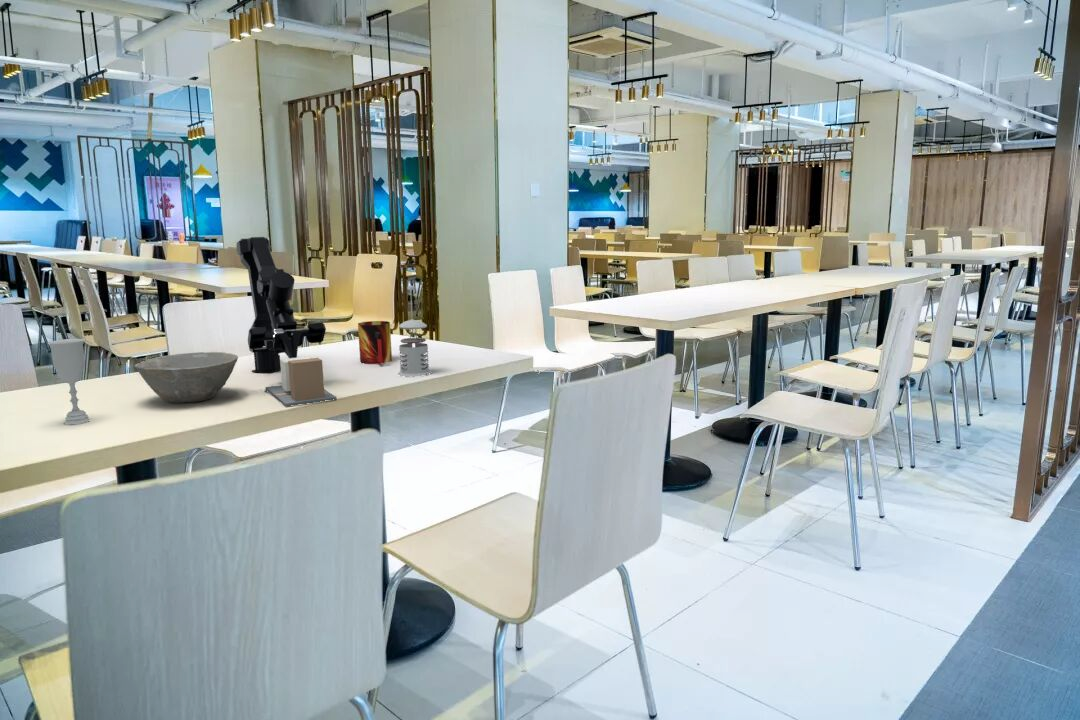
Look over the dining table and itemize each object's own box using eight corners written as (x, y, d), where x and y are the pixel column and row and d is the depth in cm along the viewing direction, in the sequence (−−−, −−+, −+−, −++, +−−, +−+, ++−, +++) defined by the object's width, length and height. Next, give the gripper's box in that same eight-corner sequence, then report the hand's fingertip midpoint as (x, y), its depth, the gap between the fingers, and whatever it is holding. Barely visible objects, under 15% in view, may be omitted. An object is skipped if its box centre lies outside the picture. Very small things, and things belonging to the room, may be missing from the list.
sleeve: (282, 387, 186) (279, 359, 185) (311, 384, 190) (309, 356, 189) (287, 391, 182) (284, 362, 181) (316, 387, 186) (314, 359, 185)
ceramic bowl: (143, 395, 189) (138, 356, 188) (240, 386, 198) (236, 349, 196) (134, 415, 169) (129, 372, 168) (242, 404, 178) (239, 363, 176)
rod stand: (265, 390, 193) (262, 352, 191) (312, 384, 199) (309, 347, 197) (285, 407, 174) (282, 365, 172) (336, 400, 180) (333, 359, 179)
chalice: (70, 418, 168) (59, 339, 164) (101, 416, 168) (91, 338, 165) (51, 426, 160) (40, 344, 157) (84, 425, 161) (73, 343, 158)
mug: (380, 367, 221) (378, 327, 219) (354, 361, 230) (351, 323, 228) (406, 362, 228) (404, 323, 226) (379, 357, 237) (377, 320, 235)
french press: (396, 377, 205) (391, 287, 201) (397, 369, 217) (393, 283, 212) (432, 376, 207) (428, 286, 202) (431, 368, 218) (428, 282, 213)
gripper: (312, 329, 205) (326, 375, 198) (241, 336, 196) (253, 384, 188) (318, 303, 197) (333, 350, 190) (244, 308, 188) (257, 357, 180)
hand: (294, 361), depth 187 cm, fingers closed, pressing on sleeve
